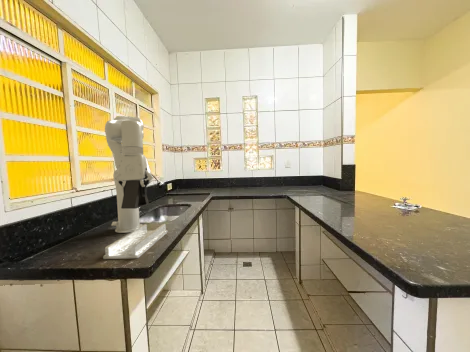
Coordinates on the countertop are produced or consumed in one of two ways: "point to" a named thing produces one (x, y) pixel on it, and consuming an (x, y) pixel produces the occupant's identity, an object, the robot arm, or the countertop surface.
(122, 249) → the aluminium track
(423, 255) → the countertop surface
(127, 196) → the phone stand
